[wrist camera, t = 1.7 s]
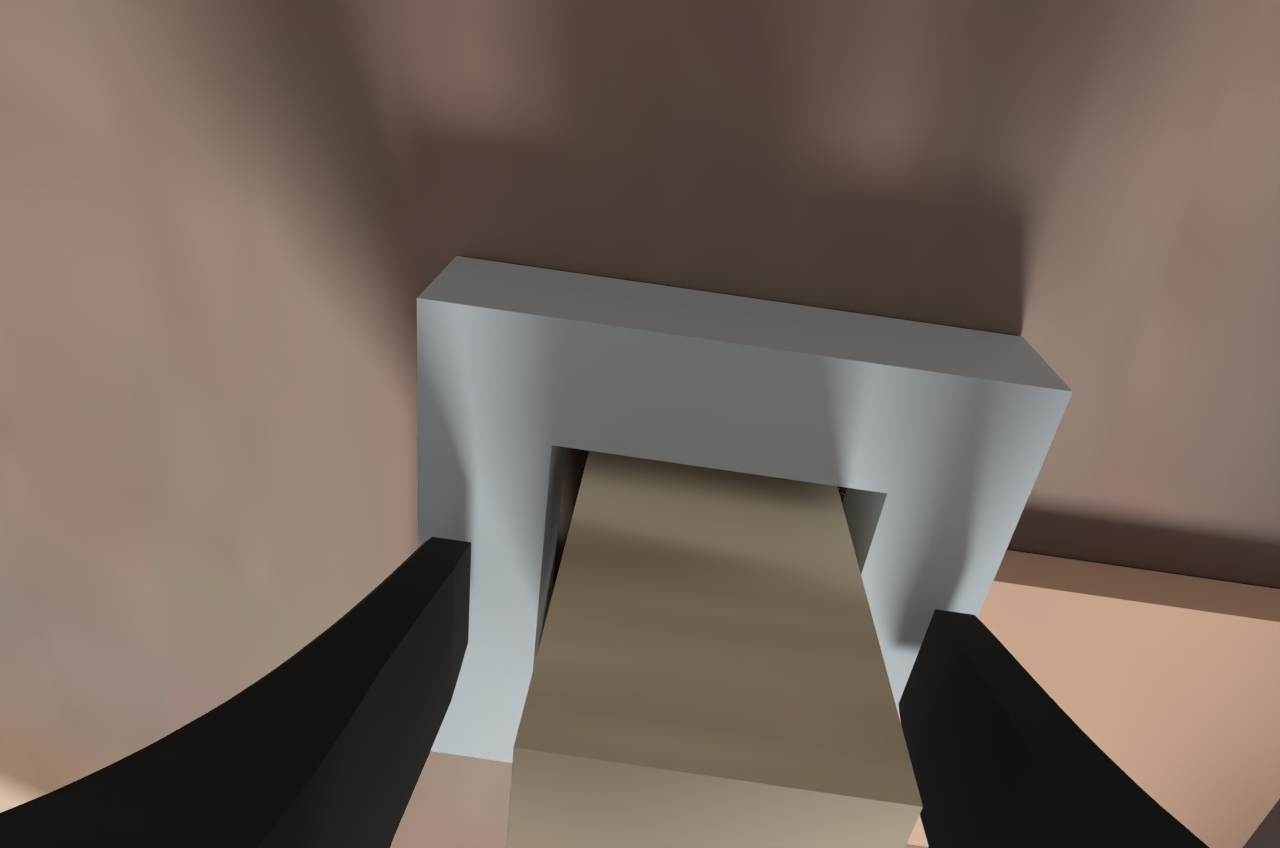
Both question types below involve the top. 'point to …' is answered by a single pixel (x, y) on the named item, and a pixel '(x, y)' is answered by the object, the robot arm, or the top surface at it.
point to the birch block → (708, 674)
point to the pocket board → (710, 443)
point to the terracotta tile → (1155, 679)
